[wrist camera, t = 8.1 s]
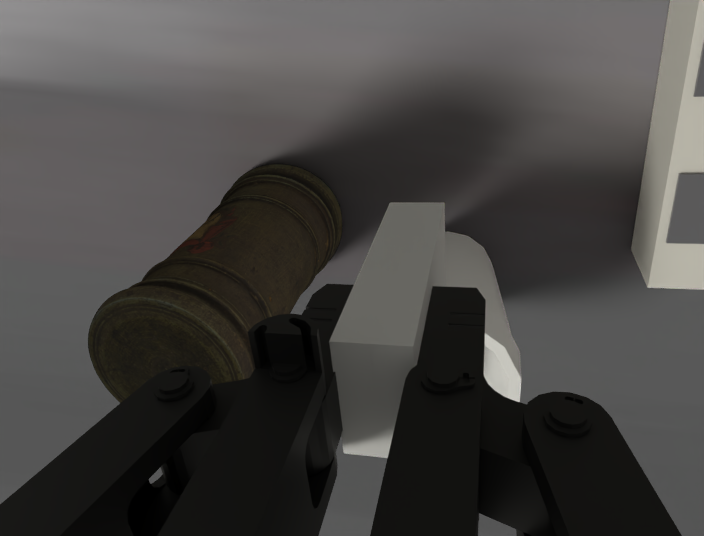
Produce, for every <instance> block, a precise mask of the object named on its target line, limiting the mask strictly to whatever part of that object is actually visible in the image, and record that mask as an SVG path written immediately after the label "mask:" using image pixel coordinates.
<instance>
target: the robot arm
mask: <svg viewBox="0 0 704 536" xmlns="http://www.w3.org/2000/svg"><path fill="white" fill-rule="evenodd" d="M485 308H486V300H485V298H484V297H483V296H482V294H481V293H480V292H479V290H478V289H477V288H471V287H446V266H445V202H390V203H389V206H388V208H387V210H386V213H385V215H384V217H383V219H382V222H381V224H380V226H379V229H378V231H377V233H376V235H375V238H374V240H373V242H372V245H371V247H370V249H369V251H368V254H367V256H366V258H365V261H364V263H363V265H362V267H361V270H360V272H359V274H358V277H357V279H356V281H355V283H354V285H342V284H326V285H325V286H324V287H322V288H321V289H320V290H318V291H317V292H316V293H314V294H313V295H312V297H311V299H310V301H309V303H308V304H307V306H306V310H304V312H303V314H302V315H298V314H280V315H276V316H272V317H269V318H266V319H264V320H262V321H260V322H258V323H256V324H255V325H254V326H253V327H252V328H251V329H250V330H249V331H248V336H249V341H250V346H251V350H252V355H253V360H254V365H255V369H254V371H253V373H252V374H251V376H250V378H247V379H243V380H238V381H232V382H225V383H218V384H212V381H211V378H210V376H209V374H208V373H207V371H205V370H203V369H201V368H199V367H195V366H180V367H174V368H171V369H168V370H165V371H163V372H160V373H158V374H157V375H155V376H154V377H152V378H151V379H149V380H148V381H146V382H145V383H144V384H143V385H142V386H140V387H139V388H138V389H137V390H136V391H135V392H133V393H132V394H131V395H130V396H129V397H127V398H126V399H125V400H124V401H123V402H121V403H120V404H119V405H118V406H117V407H116V408H114V409H113V410H112V411H111V412H110V413H108V414H107V415H106V416H105V417H104V418H102V419H101V420H100V421H99V422H98V423H97V424H95V425H94V426H93V427H92V428H91V429H89V430H88V431H87V432H86V433H85V434H83V435H82V436H81V437H80V438H79V439H78V440H76V441H75V442H74V443H73V444H72V445H70V446H69V447H68V448H67V449H66V450H64V451H63V452H62V453H61V454H60V455H59V456H57V457H56V458H55V459H54V460H53V461H51V462H50V463H49V464H48V465H47V466H45V467H44V468H43V469H42V470H41V471H40V472H38V473H37V474H36V475H35V476H34V477H32V478H31V479H30V480H29V481H28V482H26V483H25V484H24V485H23V486H22V487H21V488H19V489H18V490H17V491H16V492H15V493H13V494H12V495H11V496H10V497H9V498H7V499H6V500H5V501H4V502H3V503H2V504H0V536H318V535H319V532H320V528H321V525H322V522H323V519H324V515H325V512H326V509H327V506H328V502H329V499H330V496H331V493H332V489H333V486H334V483H335V480H336V476H337V458H336V449H337V446H338V443H339V440H340V437H341V436H342V443H343V451H344V453H346V454H355V455H365V456H374V457H383V458H388V459H387V463H386V468H385V472H384V477H383V481H382V486H381V490H380V495H379V499H378V503H377V508H376V512H375V517H374V521H373V526H372V530H371V535H370V536H478V520H479V513H480V514H483V515H485V516H487V517H490V518H492V519H494V520H496V521H499V522H501V523H503V524H506V525H508V526H510V527H513V528H515V529H516V531H517V536H682V535H681V534H680V532H679V530H678V529H677V527H676V525H675V524H674V522H673V520H672V519H671V517H670V515H669V514H668V512H667V510H666V509H665V507H664V505H663V504H662V502H661V500H660V498H659V497H658V495H657V493H656V492H655V490H654V488H653V487H652V485H651V483H650V482H649V480H648V478H647V477H646V475H645V473H644V472H643V470H642V468H641V467H640V465H639V463H638V462H637V460H636V458H635V457H634V455H633V453H632V452H631V450H630V448H629V446H628V445H627V443H626V441H625V440H624V438H623V436H622V435H621V433H620V431H619V430H618V428H617V426H616V425H615V423H614V421H613V420H612V418H611V416H610V415H609V414H608V413H607V412H606V411H605V410H604V409H603V408H602V406H600V405H599V404H597V403H595V402H594V401H592V400H590V399H589V398H587V397H584V396H580V395H577V394H573V393H569V392H550V393H546V394H541V395H538V396H537V397H535V398H534V399H532V400H531V401H529V402H528V404H527V405H526V404H523V403H520V402H517V401H514V400H511V399H509V398H506V397H504V396H503V395H501V394H499V393H498V392H496V391H495V390H494V389H493V388H492V387H491V386H490V385H489V384H488V383H487V381H486V379H485V377H484V348H485ZM160 467H161V470H162V473H163V475H162V476H161V477H160V478H159V479H158V480H156V481H155V482H154V483H152V484H150V483H149V480H148V479H149V478H150V477H151V476H152V475H153V474H154V473H155V472H156V471H157V470H158V469H159V468H160Z"/></svg>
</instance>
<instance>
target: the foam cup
mask: <svg viewBox="0 0 704 536" xmlns="http://www.w3.org/2000/svg"><path fill="white" fill-rule="evenodd" d="M445 266H446V287H471V288H477V289H478V290H479V292H480V293H481V294H482V296H483V297H484V298H485V300H486V308H485V348H484V377H485V379H486V381H487V383H488V384H489V385H490V386H491V387H492V388H493V389H494V390H495V391H496V392H498V393H499V394H501V395H503V396H504V397H506V398H509V399H511V400H514V401H517V402H520V390H521V363H520V350H519V349H518V347H517V345H516V343H515V341H514V339H513V337H512V335H511V331H510V327H509V323H508V320H507V316H506V312H505V309H504V305H503V301H502V298H501V294H500V290H499V286H498V283H497V279H496V275H495V272H494V268H493V266H492V262H491V261H490V259H489V257H488V255H487V253H486V251H485V249H484V247H483V246H481V245H480V244H478V243H477V242H476V241H474V240H473V239H472V238H470V237H469V236H467V235H462V234H458V233H454V232H449V231H447V232H445Z"/></svg>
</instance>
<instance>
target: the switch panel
mask: <svg viewBox="0 0 704 536" xmlns="http://www.w3.org/2000/svg"><path fill="white" fill-rule="evenodd" d="M631 251H632V253H633V256H634V258H635V260H636V262H637V265H638V267H639V269H640V271H641V274H642V276H643V278H644V280H645V283H646V285H647V287H648V288H673V289H704V0H670V4H669V11H668V17H667V23H666V30H665V36H664V43H663V49H662V55H661V62H660V68H659V74H658V81H657V87H656V93H655V100H654V106H653V112H652V119H651V125H650V131H649V138H648V144H647V151H646V157H645V163H644V170H643V176H642V182H641V189H640V195H639V201H638V208H637V214H636V220H635V227H634V233H633V240H632V246H631Z"/></svg>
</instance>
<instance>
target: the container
mask: <svg viewBox="0 0 704 536" xmlns="http://www.w3.org/2000/svg"><path fill="white" fill-rule="evenodd" d="M341 234H342V215H341V210H340V207H339V204H338V201H337V199H336V197H335V195H334V194H333V192H332V191H331V190H330V188H329V187H328V186H327V185H326V184H325V183H324V182H323V181H322V180H320V179H319V178H318V177H316V176H315V175H313V174H312V173H310V172H308V171H306V170H304V169H301V168H299V167H296V166H291V165H284V164H271V165H265V166H261V167H258V168H255V169H253V170H250V171H249V172H247V173H245V174H244V175H243V176H241V177H240V178H239V179H238V180H237V181H236V182H235V183H234V184H233V186H232V187H231V189H230V190H229V191H228V192H227V193H226V194H225V196H224V197H223V199H222V201H221V203H220V205H219V206H218V207H217V208H216V209H215V210H214V211H213V212H212V213H211V214H210V216H209V217H208V219H207V221H206V222H205V223H204V224H203V225H202V226H201V227H199V228H198V229H197V230H196V231H195V232H194V233H193V234H192V235H191V236H190V237H189V238H188V239H187V240H185V241H184V242H183V243H182V244H181V245H180V246H179V247H178V248H177V249H176V250H175V251H174V252H173V253H172V254H171V255H170V256H169V257H168V258H167V259H165V260H164V261H162V262H160V263H158V264H157V265H155V266H154V267H153V268H151V269H150V270H149V271H148V272H147V274H146V275H145V276H144V278H143V280H142V281H141V282H139V283H137V284H135V285H133V286H131V287H130V288H128V289H125V290H122V291H120V292H118V293H116V294H114V295H113V296H111V297H110V298H108V299H107V300H106V301H105V302H104V303H103V304H102V305H101V307H100V308H99V309H98V311H97V312H96V314H95V316H94V318H93V320H92V323H91V326H90V329H89V334H88V348H89V354H90V357H91V361H92V363H93V366H94V369H95V371H96V373H97V375H98V376H99V378H100V380H101V381H102V383H103V384H104V385H105V387H106V388H107V389H108V390H109V392H110V393H111V394H112V395H113V396H114V397H115V398H116V399H117V400H118V401H119V402H120V403H121V402H123V401H124V400H125V399H126V398H127V397H129V396H130V395H131V394H132V393H133V392H135V391H136V390H137V389H138V388H139V387H140V386H142V385H143V384H144V383H145V382H146V381H148V380H149V379H151V378H152V377H154V376H155V375H157V374H158V373H160V372H163V371H165V370H168V369H171V368H174V367H180V366H195V367H199V368H201V369H203V370H205V371H207V373H208V374H209V376H210V378H211V381H212V384H218V383H225V382H232V381H238V380H243V379H247V378H250V376H251V374H252V373H253V371H254V369H255V365H254V360H253V355H252V350H251V346H250V341H249V336H248V331H249V330H250V329H251V328H252V327H253V326H254V325H255V324H256V323H258V322H260V321H262V320H264V319H266V318H269V317H272V316H276V315H280V314H290V312H291V310H292V309H293V307H294V305H295V304H296V302H297V300H298V299H299V297H300V295H301V294H302V293H303V292H304V291H305V290H306V289H307V288H308V287H309V286H310V284H311V283H312V281H313V279H314V278H315V276H316V275H317V274H318V273H319V272H320V271H321V270H322V269H323V268H324V267H325V266H326V264H327V263H328V261H329V260H330V259H331V258H332V257H333V255H334V253H335V252H336V250H337V248H338V245H339V243H340V239H341Z"/></svg>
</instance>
